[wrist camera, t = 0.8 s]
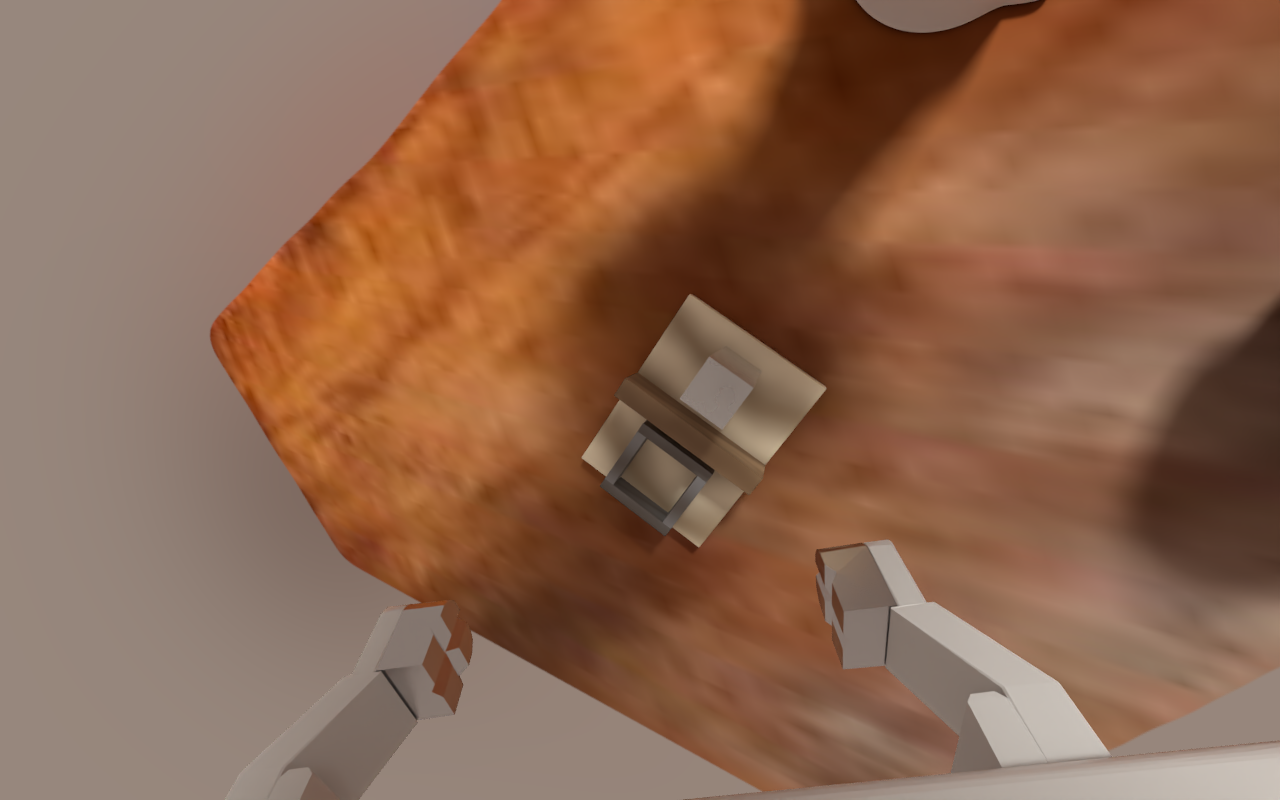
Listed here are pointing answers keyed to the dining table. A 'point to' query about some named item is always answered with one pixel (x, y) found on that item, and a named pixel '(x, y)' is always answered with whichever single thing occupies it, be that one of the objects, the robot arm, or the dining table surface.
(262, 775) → the robot arm
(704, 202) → the dining table surface
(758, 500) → the dining table surface
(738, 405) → the grey square block
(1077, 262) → the dining table surface
